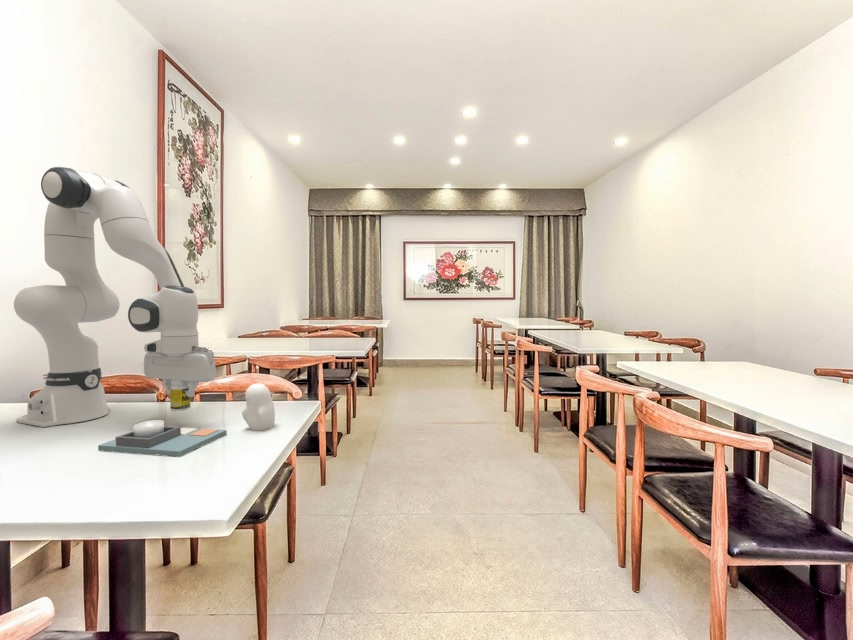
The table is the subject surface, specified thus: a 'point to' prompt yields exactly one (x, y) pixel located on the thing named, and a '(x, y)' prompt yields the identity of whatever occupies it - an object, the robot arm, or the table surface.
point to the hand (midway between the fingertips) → (180, 395)
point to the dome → (148, 428)
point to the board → (164, 441)
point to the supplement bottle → (179, 395)
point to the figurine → (259, 408)
